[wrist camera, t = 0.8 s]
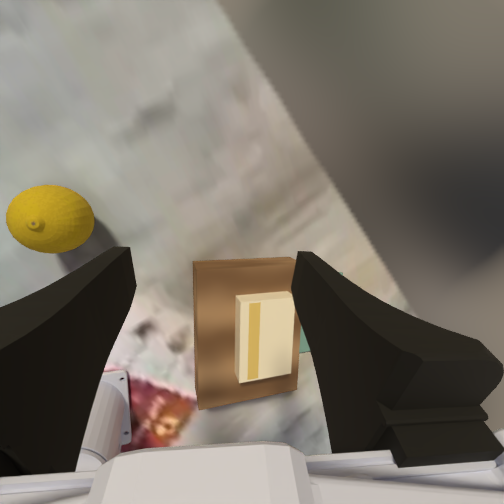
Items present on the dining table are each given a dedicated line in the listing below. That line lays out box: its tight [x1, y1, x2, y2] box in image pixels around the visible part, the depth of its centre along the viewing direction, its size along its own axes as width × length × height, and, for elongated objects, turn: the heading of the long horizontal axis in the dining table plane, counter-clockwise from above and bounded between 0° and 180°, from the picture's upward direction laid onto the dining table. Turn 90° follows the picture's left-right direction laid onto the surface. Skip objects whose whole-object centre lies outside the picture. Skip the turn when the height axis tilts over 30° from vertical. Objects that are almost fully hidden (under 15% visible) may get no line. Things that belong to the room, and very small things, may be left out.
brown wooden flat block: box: [193, 257, 301, 410], centre depth 32 cm, size 16×12×4 cm
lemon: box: [6, 185, 95, 253], centre depth 22 cm, size 6×6×8 cm
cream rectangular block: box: [235, 291, 295, 383], centre depth 29 cm, size 9×6×2 cm, turn 179°
